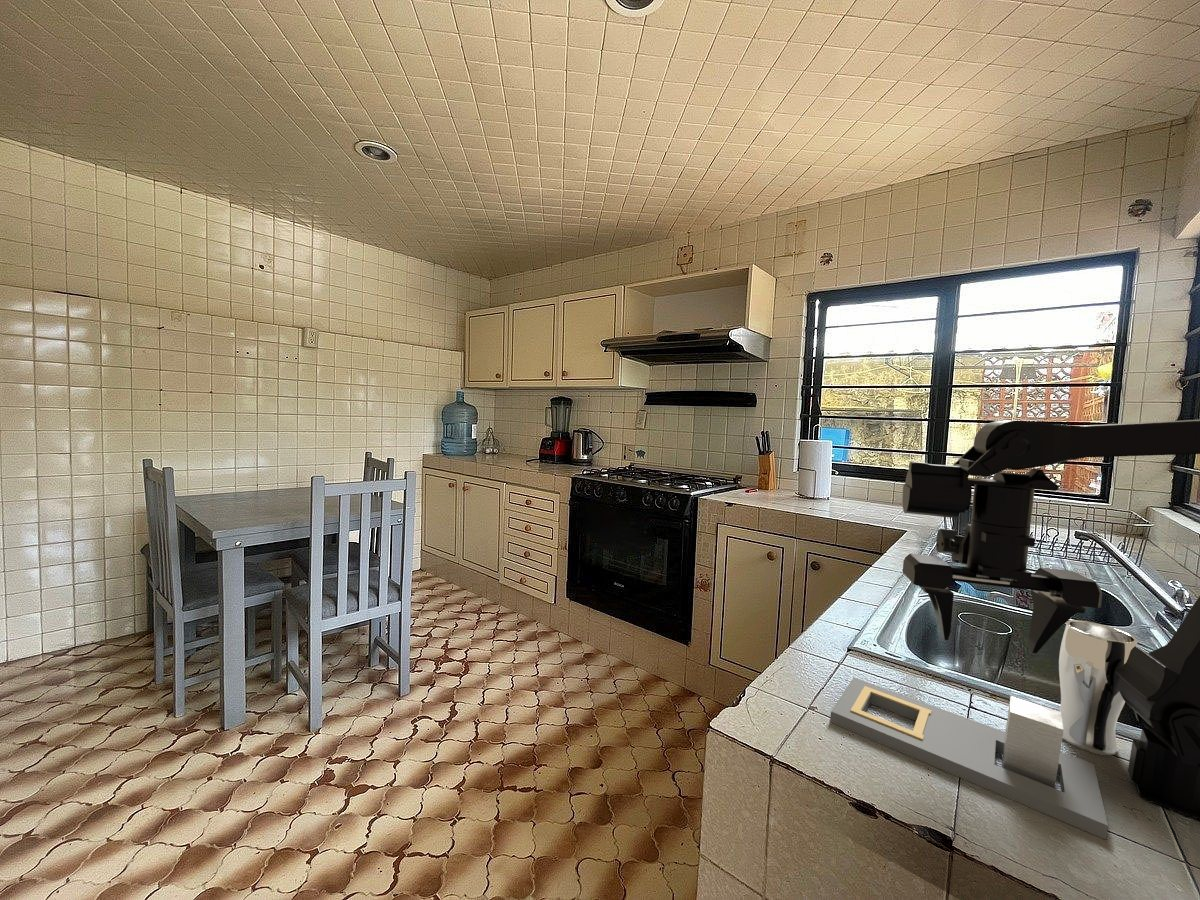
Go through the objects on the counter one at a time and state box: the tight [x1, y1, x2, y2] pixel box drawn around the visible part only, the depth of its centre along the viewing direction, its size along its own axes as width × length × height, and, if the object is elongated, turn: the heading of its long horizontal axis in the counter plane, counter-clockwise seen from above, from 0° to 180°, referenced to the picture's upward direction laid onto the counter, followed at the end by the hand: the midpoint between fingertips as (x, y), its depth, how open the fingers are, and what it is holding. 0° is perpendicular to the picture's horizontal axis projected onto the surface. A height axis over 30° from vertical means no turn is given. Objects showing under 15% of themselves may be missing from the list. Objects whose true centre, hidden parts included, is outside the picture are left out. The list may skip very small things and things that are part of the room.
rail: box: [829, 676, 1109, 840], centre depth 62 cm, size 26×12×2 cm, turn 50°
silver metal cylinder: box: [1058, 619, 1139, 756], centre depth 65 cm, size 7×7×15 cm
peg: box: [1000, 695, 1064, 789], centre depth 58 cm, size 4×4×8 cm
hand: (987, 645), depth 62 cm, fingers open, 9 cm apart
